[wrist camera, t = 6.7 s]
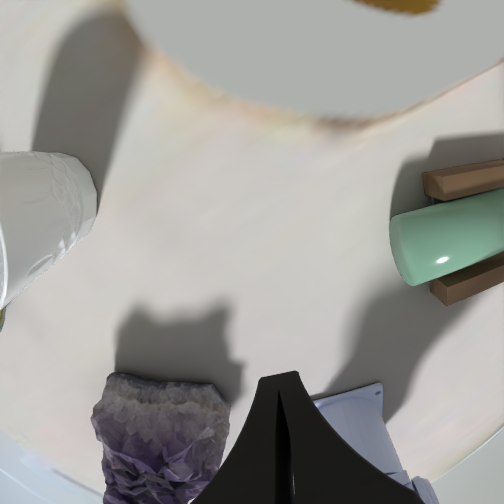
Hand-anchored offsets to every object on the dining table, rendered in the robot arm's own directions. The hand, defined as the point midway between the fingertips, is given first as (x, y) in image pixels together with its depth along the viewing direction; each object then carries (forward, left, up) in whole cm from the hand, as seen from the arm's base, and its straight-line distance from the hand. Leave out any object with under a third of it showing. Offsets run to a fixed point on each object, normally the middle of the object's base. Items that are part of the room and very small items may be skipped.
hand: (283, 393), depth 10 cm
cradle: (0, -17, -10) cm, 20 cm away
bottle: (+1, -8, -8) cm, 12 cm away
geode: (-14, +14, -11) cm, 22 cm away
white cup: (+9, +13, -11) cm, 19 cm away
